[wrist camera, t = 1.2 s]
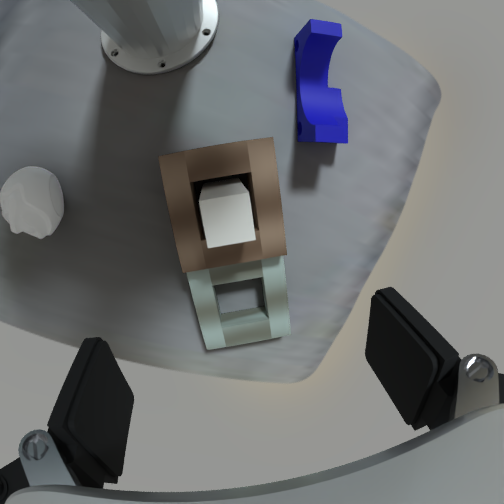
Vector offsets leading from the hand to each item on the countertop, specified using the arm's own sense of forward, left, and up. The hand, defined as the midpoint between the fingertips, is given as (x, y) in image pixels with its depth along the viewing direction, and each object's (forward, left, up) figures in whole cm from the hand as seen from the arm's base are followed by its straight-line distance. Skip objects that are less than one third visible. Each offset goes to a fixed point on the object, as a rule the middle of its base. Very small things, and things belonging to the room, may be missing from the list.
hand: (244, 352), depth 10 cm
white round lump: (-6, -20, -24) cm, 31 cm away
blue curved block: (-11, +12, -24) cm, 29 cm away
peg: (-1, 0, -23) cm, 23 cm away
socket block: (+4, 0, -23) cm, 24 cm away
